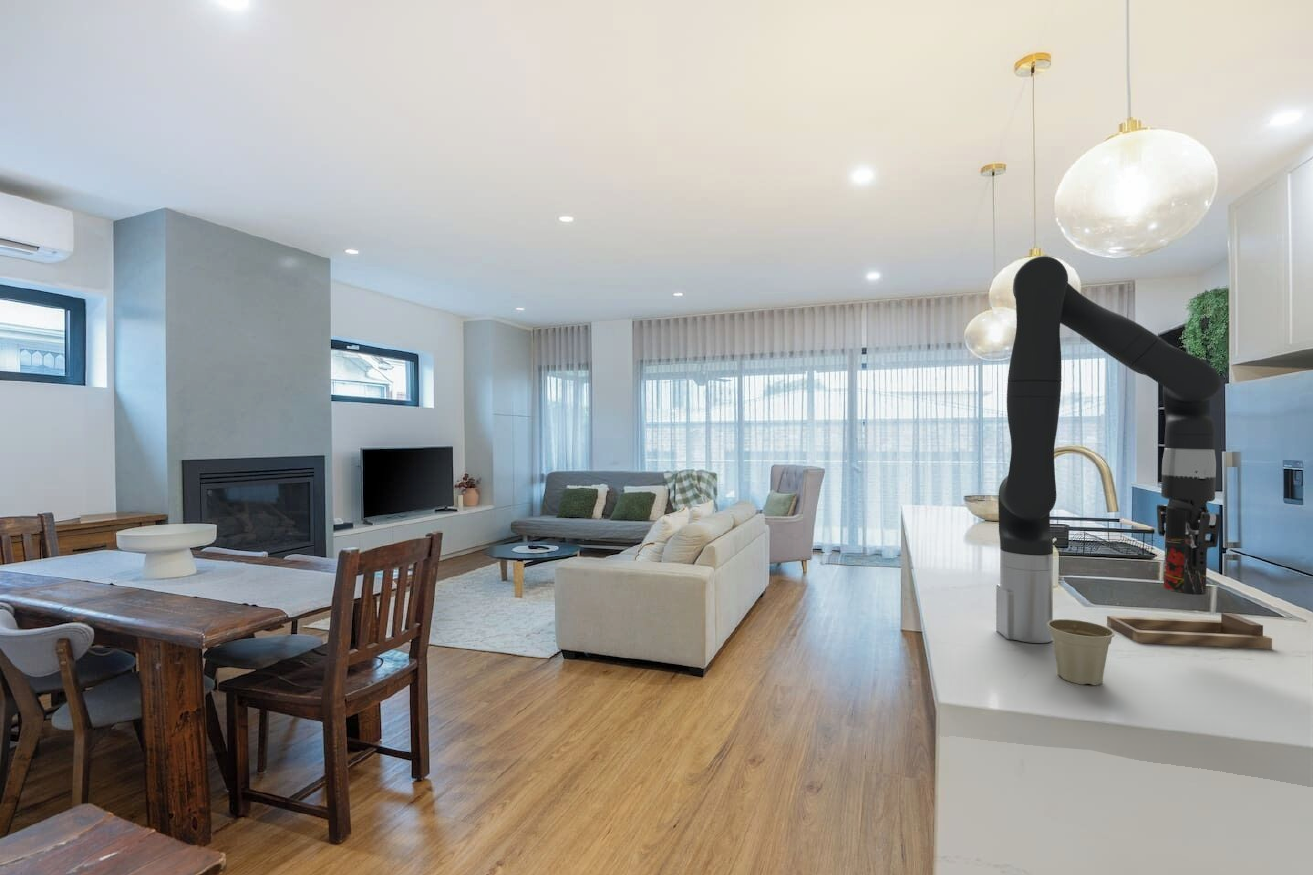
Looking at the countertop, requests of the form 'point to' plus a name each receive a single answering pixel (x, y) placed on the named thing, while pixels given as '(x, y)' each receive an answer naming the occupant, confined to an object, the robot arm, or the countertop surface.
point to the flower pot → (1080, 650)
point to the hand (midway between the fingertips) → (1185, 565)
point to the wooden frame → (1231, 625)
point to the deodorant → (1181, 555)
